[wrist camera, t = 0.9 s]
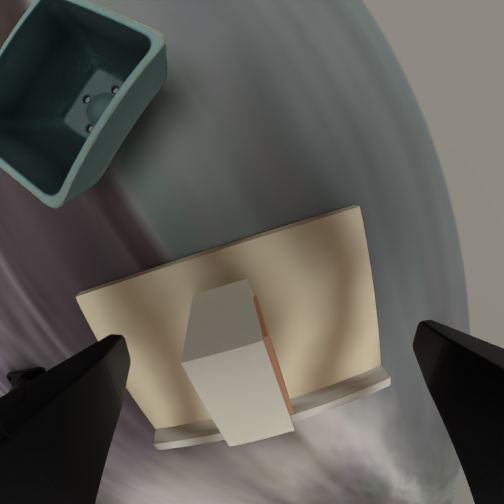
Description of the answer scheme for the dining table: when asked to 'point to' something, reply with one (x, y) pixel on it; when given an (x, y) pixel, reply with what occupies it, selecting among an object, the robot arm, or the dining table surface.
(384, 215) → the dining table surface
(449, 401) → the robot arm
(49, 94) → the flower pot
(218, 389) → the carton
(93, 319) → the shelf board
